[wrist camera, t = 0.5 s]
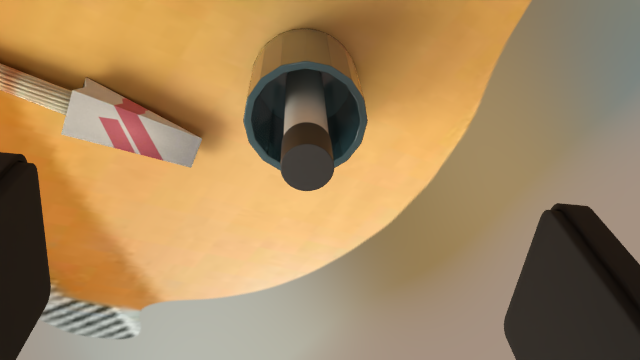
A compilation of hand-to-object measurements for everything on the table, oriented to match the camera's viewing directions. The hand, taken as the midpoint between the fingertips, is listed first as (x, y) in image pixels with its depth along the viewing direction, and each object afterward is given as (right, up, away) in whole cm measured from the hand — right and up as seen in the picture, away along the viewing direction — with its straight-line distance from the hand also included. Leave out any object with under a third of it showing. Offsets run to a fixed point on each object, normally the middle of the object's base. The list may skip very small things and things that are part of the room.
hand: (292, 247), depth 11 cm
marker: (-1, +9, +34) cm, 35 cm away
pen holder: (-1, +9, +34) cm, 35 cm away
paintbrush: (-18, +8, +34) cm, 40 cm away
